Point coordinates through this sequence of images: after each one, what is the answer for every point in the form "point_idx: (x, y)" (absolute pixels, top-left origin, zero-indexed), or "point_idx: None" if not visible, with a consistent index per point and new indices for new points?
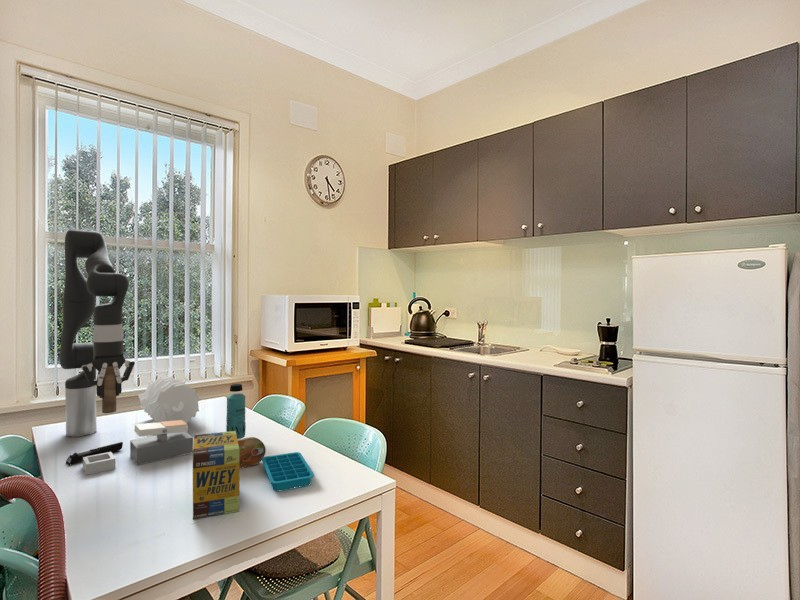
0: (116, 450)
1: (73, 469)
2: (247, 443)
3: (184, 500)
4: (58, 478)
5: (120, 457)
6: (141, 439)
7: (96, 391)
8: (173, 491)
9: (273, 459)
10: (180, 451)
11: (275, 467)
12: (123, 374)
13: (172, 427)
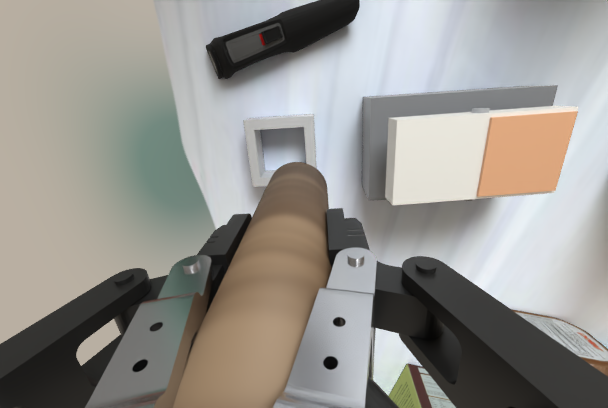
0: (336, 30)
1: (230, 119)
2: None
3: (385, 375)
4: (205, 163)
5: (338, 94)
6: (402, 114)
7: (208, 243)
8: (382, 343)
9: None
10: None
11: None
12: (426, 294)
13: (497, 196)
